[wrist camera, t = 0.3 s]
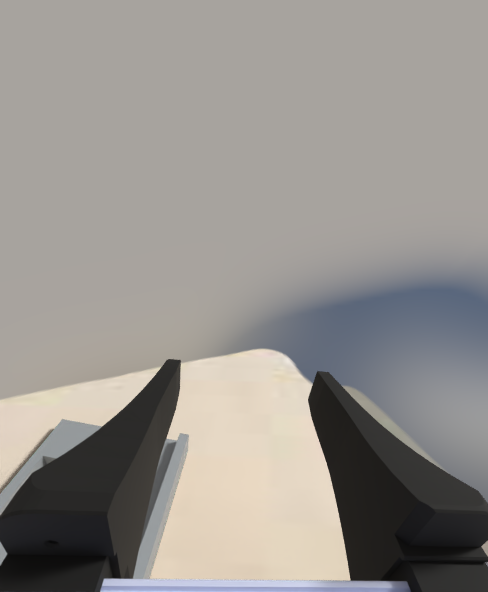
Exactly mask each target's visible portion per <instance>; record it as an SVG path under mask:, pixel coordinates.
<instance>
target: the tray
mask: <svg viewBox="0 0 488 592" xmlns="http://www.w3.org/2000/svg"><path fill="white" fill-rule="evenodd" d="M100 428H101V426H96V425H90V424H85V423H80V422H74V421H69V420H64V419H62V420H61V422H60V423H59V424H58V425H57V426H56V428H55V429H54V430H53V431H52V432H51V434H50V435H49V436H48V437H47V438H46V440H45V441H44V442H43V443H42V444H41V446H40V447H39V448H38V449H37V450H36V452H35V453H34V454H33V455H32V456H31V458H30V459H29V460H28V461H27V462H26V464H25V465H24V466H23V467H22V468H21V470H20V471H19V472H18V473H17V474H16V476H15V477H14V478H13V479H12V480H11V482H10V483H9V484H8V485H7V486H6V488H5V489H4V490H3V491H2V492H1V494H0V515H1V514H2V512H3V511H4V510H5V508H6V507H7V505H8V504H9V502H10V501H11V499H12V498H13V497H14V495H15V494H16V492H17V491H18V490H19V488H20V487H21V486H22V485H23V484H24V482H25V481H26V480H27V479H28V478H29V476H30V475H31V474H32V473H33V472H35V471H36V470H38V469H40V468H41V467H43V466H45V465H46V464H48V463H50V462H51V461H53V460H55V459H56V458H58V457H60V456H61V455H63V454H64V453H66V452H68V451H69V450H71V449H72V448H73V447H75V446H76V445H78V444H79V443H81V442H82V441H84V440H85V439H86V438H88V437H89V436H91V435H92V434H93V433H95V432H96V431H97V430H99V429H100ZM188 438H189V435H187V434H181V433H180V434H179V437H178V440H177V441H175V440H170V439H166V441H165V444H164V447H163V450H162V453H161V456H160V460H159V463H158V467H157V471H156V475H155V480H154V484H153V488H152V493H151V497H150V501H149V506H148V510H147V515H146V519H145V524H144V529H143V533H142V538H141V542H140V547H139V552H138V557H137V562H136V566H135V571H134V576H133V579H149V578H150V575H151V571H152V568H153V565H154V561H155V558H156V555H157V551H158V548H159V545H160V541H161V538H162V535H163V531H164V528H165V525H166V521H167V518H168V515H169V511H170V508H171V505H172V502H173V498H174V495H175V492H176V488H177V485H178V482H179V478H180V475H181V472H182V468H183V465H184V462H185V458H186V455H187V452H188ZM6 555H7V553H6V551H5V549H4V547H3V545H2V544H1V542H0V565H1V564H2V562H3V560H4V559H5V557H6Z"/></svg>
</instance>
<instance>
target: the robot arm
mask: <svg viewBox="0 0 488 592" xmlns="http://www.w3.org/2000/svg"><path fill="white" fill-rule="evenodd" d="M180 366H181V361H180V360H173V359H168V360H167V361H166V362H165V363H164V365H163V366H162V367H161V369H160V370H159V371H158V372H157V374H156V375H155V376H154V377H153V379H152V380H151V381H150V382H149V383H148V384H147V385H146V386H145V388H144V389H143V390H142V391H141V392H140V393H139V394H138V395H137V396H136V397H135V398H134V399H133V400H132V401H131V402H130V403H129V404H128V405H127V406H126V407H125V408H124V409H123V410H121V411H120V412H119V413H118V414H117V415H116V416H115V417H114V418H112V419H111V420H110V421H109V422H107V423H106V424H105V425H104V426H102V427H101V428H100V429H99V430H97V431H96V432H95V433H93V434H92V435H91V436H89V437H88V438H86V439H85V440H84V441H82V442H81V443H79V444H78V445H76V446H75V447H73V448H72V449H71V450H69V451H68V452H66V453H64V454H63V455H61V456H60V457H58V458H56V459H55V460H53V461H51V462H50V463H48V464H46V465H45V466H43V467H41V468H40V469H38V470H36V471H35V472H33V473H32V474H31V475H30V476H29V478H28V479H27V480H26V481H25V482H24V484H23V485H22V486H21V487H20V488H19V490H18V491H17V492H16V494H15V495H14V497H13V498H12V499H11V501H10V502H9V504H8V505H7V507H6V508H5V510H4V511H3V512H2V514H1V515H0V542H1V544H2V545H3V547H4V549H5V551H6V553H7V555H6V557H5V559H4V560H3V562H2V564H1V565H0V592H488V566H487V565H486V563H485V562H488V556H487V555H486V553H485V552H484V550H483V549H482V547H481V546H482V545H483V544H484V543H485V542H486V541H487V540H488V503H487V502H486V500H485V499H484V498H483V497H482V495H481V494H480V493H479V491H477V490H475V489H474V488H472V487H470V486H468V485H467V484H465V483H463V482H462V481H460V480H458V479H456V478H455V477H453V476H451V475H450V474H448V473H447V472H445V471H443V470H442V469H440V468H439V467H437V466H436V465H434V464H433V463H431V462H429V461H428V460H427V459H425V458H424V457H422V456H421V455H419V454H418V453H416V452H415V451H414V450H412V449H411V448H410V447H408V446H407V445H405V444H404V443H403V442H402V441H400V440H399V439H398V438H396V437H395V436H394V435H393V434H391V433H390V432H389V431H388V430H387V429H385V428H384V427H383V426H382V425H381V424H380V423H378V422H377V421H376V420H375V419H374V418H373V417H372V416H371V415H370V414H369V413H368V412H367V411H365V410H364V409H363V408H362V407H361V406H360V405H359V404H358V403H357V402H356V401H355V400H354V399H353V398H352V397H351V395H350V394H349V393H348V392H347V391H346V390H345V389H344V388H343V387H342V386H341V385H340V384H339V383H338V382H337V381H336V380H335V379H334V378H333V376H332V375H331V374H330V373H329V372H319V371H318V372H317V374H316V377H315V380H314V383H313V386H312V389H311V392H310V395H309V398H308V402H309V407H310V412H311V417H312V420H313V424H314V427H315V430H316V433H317V436H318V439H319V442H320V445H321V448H322V450H323V453H324V456H325V459H326V462H327V466H328V469H329V473H330V477H331V481H332V485H333V489H334V494H335V498H336V503H337V507H338V512H339V517H340V522H341V527H342V532H343V538H344V543H345V548H346V554H347V560H348V567H349V573H350V579H351V581H323V580H205V579H133V576H134V571H135V566H136V562H137V557H138V552H139V547H140V542H141V538H142V533H143V529H144V524H145V519H146V515H147V510H148V506H149V501H150V497H151V493H152V488H153V484H154V480H155V475H156V471H157V467H158V463H159V460H160V456H161V453H162V450H163V447H164V444H165V441H166V438H167V434H168V431H169V428H170V425H171V422H172V419H173V416H174V413H175V410H176V405H177V401H178V396H179V391H180Z"/></svg>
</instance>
